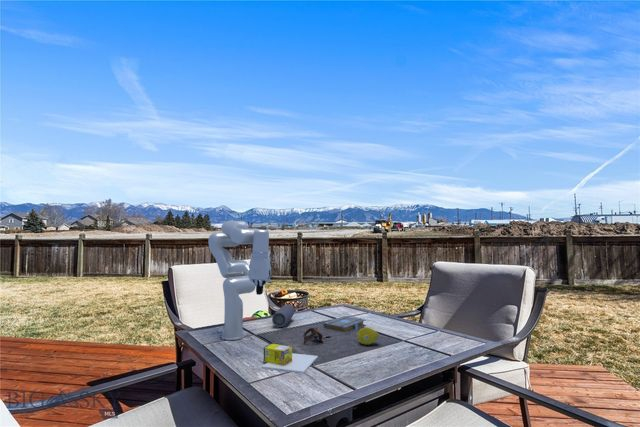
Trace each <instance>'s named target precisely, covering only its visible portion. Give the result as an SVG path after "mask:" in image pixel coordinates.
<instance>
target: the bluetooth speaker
mask: <svg viewBox="0 0 640 427" xmlns="http://www.w3.org/2000/svg"><path fill="white" fill-rule="evenodd" d="M294 314H295V309H294V307H293V305H291V304H284V305H283V306H281V307H280V308H279V309H277V311H276V312H275V313H274V314H273V316H272V318H271V321H272V324H273V325H274V327H276V328H283V327H285V326H286V325H287V324H288V323H289V322H290V321H291V320H292V318H293V317H294Z"/></svg>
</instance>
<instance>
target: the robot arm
mask: <svg viewBox="0 0 640 427" xmlns="http://www.w3.org/2000/svg"><path fill="white" fill-rule="evenodd" d="M220 229H221V231H217V232H213V233H211V234H210V235H209V237H208V247H209V248H208V249H209V251H210V252H211V255H212V256H213V258H214V259H215V261H216V263H217V266H218V270H219V273H220V275H221V276H222V278H224V280H223V281H222V290H223V296H224V297H223V298H224V317H223V318H224V322H223V323H224V324H223V327H219V328H218V332H217V333H222V334H221V336H220V338H221V339H222V340H224V339H225V340H224V341H237V340H243V339H244V338H245V337H246V336H247V335H246V332H244V330H243V329H244V320H243V319H244V302H243V300H242V298H241V297H240V296H239V295H243V294H250V293H253V292H254V291H255V294H256V295H258V296H260V295H262V294H263V293H264V286H265V285H266V284H268V283H271V277H272V268H271V260H270V258H269V244H270V243H269V242H270V232H269V230H266V229H260V228H249V224H248V223H247V222H246V221H243V220H227V221H224V222H223V223H222V225H221V228H220ZM239 245H252V252H250V256H251V258H250V261H249V263H248V262H247V261H245V260H243V259H242V260H241V259H240V260H239V259H238V260H236V259H233V257H232V255H231V253H230V252H229V251H228V250H227V249H226V248H227V247H230V248H231V247H232V248H233V247H238V246H239ZM225 247H226V248H225Z"/></svg>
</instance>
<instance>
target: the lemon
mask: <svg viewBox="0 0 640 427" xmlns="http://www.w3.org/2000/svg"><path fill="white" fill-rule="evenodd" d="M379 335H380V334H379V333H378V332H377V331H376V330H374V329H373V328H370V327H362V328H360V329H358V333H356V337H357V340H358V342H359V343H360V344H362V345H364V346H366V345H367V346H369V345H372V344H374V343H375V342H376V341H377V340H378V339H379Z"/></svg>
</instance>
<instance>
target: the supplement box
mask: <svg viewBox="0 0 640 427" xmlns="http://www.w3.org/2000/svg"><path fill="white" fill-rule="evenodd" d="M292 353H293V347H292V346H288V345H283V344H276V343H269V344H268V345H266V346H264V347H263V362H264V363H267V362H270V363H275V364H280V365H286V364H288V363H289V362H291V361H292Z"/></svg>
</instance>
